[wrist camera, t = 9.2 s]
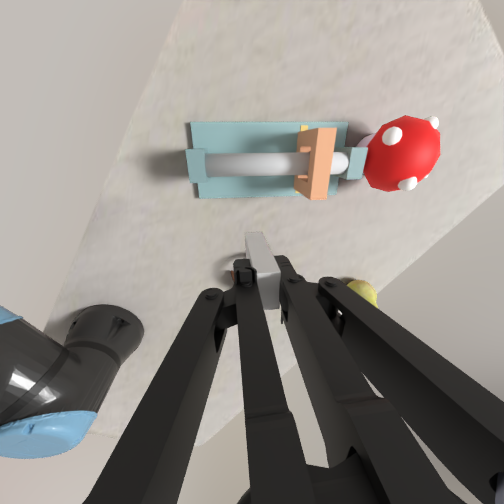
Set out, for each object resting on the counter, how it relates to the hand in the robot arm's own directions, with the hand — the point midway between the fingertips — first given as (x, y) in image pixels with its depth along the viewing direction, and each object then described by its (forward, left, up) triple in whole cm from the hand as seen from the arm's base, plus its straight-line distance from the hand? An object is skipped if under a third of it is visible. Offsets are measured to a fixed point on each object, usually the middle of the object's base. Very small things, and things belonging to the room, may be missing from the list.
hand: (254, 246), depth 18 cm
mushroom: (+24, +6, -24) cm, 35 cm away
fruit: (+27, -24, -24) cm, 44 cm away
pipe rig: (+5, +5, -24) cm, 25 cm away
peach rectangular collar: (+11, +5, -22) cm, 25 cm away
